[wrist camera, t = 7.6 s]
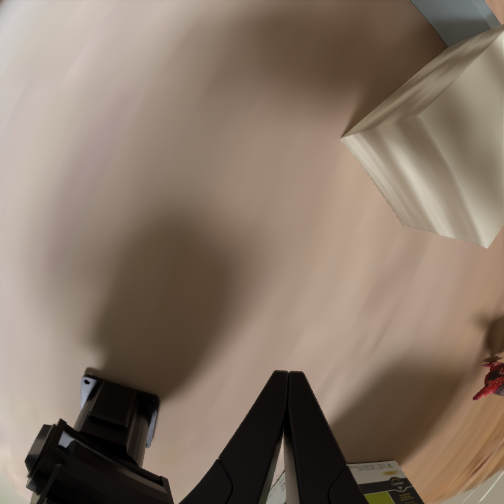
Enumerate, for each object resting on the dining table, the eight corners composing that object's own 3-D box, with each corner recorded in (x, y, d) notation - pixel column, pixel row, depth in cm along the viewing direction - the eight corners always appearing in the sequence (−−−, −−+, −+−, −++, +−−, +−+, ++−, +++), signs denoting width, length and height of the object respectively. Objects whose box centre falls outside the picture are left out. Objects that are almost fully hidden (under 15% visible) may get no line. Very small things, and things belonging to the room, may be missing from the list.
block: (401, 224, 22) (487, 248, 13) (339, 138, 20) (418, 115, 11) (490, 118, 21) (560, 111, 12) (446, 47, 19) (514, 20, 10)
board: (519, 183, 23) (561, 188, 17) (391, -20, 17) (425, -50, 11) (526, 170, 22) (567, 173, 17) (404, -25, 17) (437, -53, 11)
